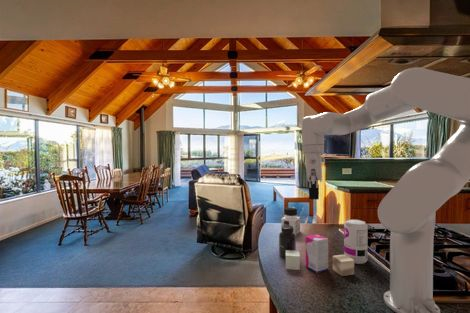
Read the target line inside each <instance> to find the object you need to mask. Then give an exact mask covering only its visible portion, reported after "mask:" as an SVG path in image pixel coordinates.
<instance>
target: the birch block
mask: <svg viewBox="0 0 470 313" xmlns="http://www.w3.org/2000/svg"><path fill="white" fill-rule="evenodd" d="M332 270H333V271H334V272H335V273H336V274H338V275H339V276H341V277H344V276H345V277H346V276H350V275H355V263H354V260H353V259H351V258H350V257H348V256H347V255H345V254H344V253H343V254H338V255H337V254H336V255H332Z"/></svg>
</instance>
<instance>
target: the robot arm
mask: <svg viewBox="0 0 470 313" xmlns="http://www.w3.org/2000/svg"><path fill="white" fill-rule="evenodd" d="M416 109H420V110H422V111H426V112H430V113H433V114H436V115H439V116H441V117H445V118H449V119H451V120H455V121H458V122H459V123H460V125H459V127H458V129H457V130H456V131H455V132H454V133H453V134H452V135H451V136H450V137H449V138H448V140H446V142H445V143H444V144H443V145H442V147H441V148H440V149H439V150H438V151H436V153H435V154H434V155H433V156H432V157H431V158H430V159H428V160H424V161H420V162H418V163H416V164H414V165H413V166H412V167H410V168H409V169H408V170H407V171H406V172H405V173H404V174H403V175H402V176H401V177H400V178H399V180H397V182H396V183H395V184H394V186H393V187H391V189H390V191H389V192H387V194H386V195H385V196H384V197H383V198H382V200H381V201H380V203H379V205H378V207H377V217H378V220H379V222H380V224H381V225H382V226H383V227H384V229H386V230H388V231H389V232H390V238H389V239H390V240H389V290H388V291H387V290H386V292H384V293H383V302H384V303H385V305H386V306H387V307H388V308H389V309H390V310H392V311H393V312H395V313H441V309H440V307H439V306H438V304H436V303H435V300H434V298H433V296H434V295H433V292H434V279H433V278H434V238H435V237H434V236H435V227H436V226H435V225H436V216H437V215H436V214H437V211H438V210H439V209H440V208H441V207H442V206H443V205H444V204H445V203H446V202H447V201H448V200H450V198H452V197H454V196H455V195H457V194H458V193H460V192H461V191H462V189H463V188H464V186H465V185H466V184H467V183H468V182H469V181H470V78H469V77H465V76H460V75H455V74H450V73H446V72H441V71H438V70H437V71H436V70H432V69H429V68H424V67H409V68H407V69H403V70H402V71H400V72H399V73H398V74H397V75H395V76H394V78H393V79H392V81H391V83H390V85H388V86H385V87H384V88H380V89H378V90H376V91H374V92H371V93H369V94H368V95H366V97H365V101H364V103H363V104H362V105H360V106H359V107H357V108H354V109H353V110H350V111H349V110H348V111H347V112H345V113H338V112H331V111H325V112H323V113H322V112H321V113H318V114H317V115H308V116H305V117H303V118H302V120H301V143H302V144H301V146H302V150H301V151H302V155H305V166H306V169H305V170H306V177H307V181H308V183H309V184H308V185H309V186H308V198H309V199H308V200H319V198H320V197H319V194H320V186H319V182H320V183H322V181H323V173H322V172H323V168H322V167H323V164H322V162H323V161H322V155H325V139H324V138H325V137H324V135H326V136H330V135H331V136H344V135H348V134H351V133H355V132H358V131H361V130H363V129H366V128H368V127H370V126H372V125H375V124H377V123H378V122H381V121H382V120H383V121H384V120H386V119H388V118H392V117H395V116H398V115H401V114H403V113H406V112H410V111H413V110H416Z"/></svg>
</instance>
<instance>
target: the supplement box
mask: <svg viewBox="0 0 470 313" xmlns="http://www.w3.org/2000/svg"><path fill="white" fill-rule="evenodd" d="M305 268H307V269H309V270H310V271H312V272H314V273H315V274H319V273H321V272H325V271H328V270H329V238H327V237H326V236H323V235H320V234H318V233H316V234H312V235H307V236H305Z"/></svg>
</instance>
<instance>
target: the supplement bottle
mask: <svg viewBox="0 0 470 313" xmlns="http://www.w3.org/2000/svg"><path fill="white" fill-rule="evenodd" d="M281 231H282V232H280V233H279V234H278V254H279V256H280V257H282V258H284V259H286V250H292V251H297V234H296V235H295V234H294V233H293V232H294V230H293V226H291V225H283V226H282V229H281Z"/></svg>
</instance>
